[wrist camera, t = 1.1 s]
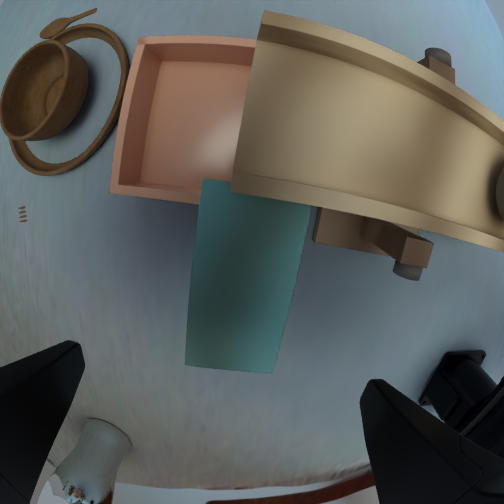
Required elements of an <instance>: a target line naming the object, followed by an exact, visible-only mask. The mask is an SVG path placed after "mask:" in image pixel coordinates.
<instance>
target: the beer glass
mask: <svg viewBox="0 0 504 504" xmlns="http://www.w3.org/2000/svg"><path fill="white" fill-rule="evenodd" d="M130 448H131V442H130V440H129V439H128V437H127V436H126V435H125V434H124V433H123V432H122V431H121V430H119V429H118V428H116V427H115V426H113V425H112V424H110V423H108V422H105V421H103V420H100V419H94V418H91V419H87V420H86V421H85V423H84V426H83V429H82V432H81V435H80V438H79V440H78V442H77V444H76V446H75V447H74V449H73V450H72V451H71V452H70V453H69V455H68V456H67V457H66V458H65V459H64V460H63V461H62V462H61V463H60V464H59V466H58V467H57V468H56V469H55V470H54V472H53V473H52V474H51V476H50V477H49V479H48V481H47V482H46V484H45V486H44V488H43V490H42V492H41V495H40V497H39V500H38V503H37V504H112V503H113V496H114V489H115V482H116V476H117V472H118V469H119V466H120V464H121V462H122V460H123V458H124V457H125V456H126V454H127V453H128V452H129V450H130Z"/></svg>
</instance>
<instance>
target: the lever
mask: <svg viewBox="0 0 504 504" xmlns="http://www.w3.org/2000/svg"><path fill="white" fill-rule="evenodd" d="M503 168H504V121H503V120H502V119H501V118H500V117H498V116H497V115H496V114H495V113H493V112H492V111H491V110H490V109H488V108H487V107H486V106H484V105H483V104H482V103H480V102H479V101H478V100H476V99H475V98H474V97H472V96H471V95H469V94H468V93H466V92H465V91H463V90H462V89H460V88H459V87H457V86H456V85H454V84H453V83H451V82H450V81H448V80H446V79H445V78H443V77H442V76H440V75H438V74H436V73H435V72H433V71H431V70H430V69H428V68H426V67H424V66H422V65H420V64H419V63H417V62H415V61H413V60H411V59H409V58H407V57H405V56H403V55H401V54H399V53H397V52H395V51H392V50H390V49H388V48H386V47H383V46H381V45H379V44H376V43H374V42H372V41H369V40H367V39H364V38H362V37H359V36H356V35H354V34H351V33H348V32H345V31H342V30H339V29H336V28H333V27H330V26H327V25H323V24H320V23H317V22H313V21H309V20H306V19H302V18H298V17H293V16H289V15H285V14H280V13H275V12H270V11H264V13H263V17H262V21H261V25H260V28H259V32H258V36H257V41H256V46H255V51H254V56H253V61H252V66H251V71H250V76H249V81H248V86H247V92H246V97H245V103H244V108H243V114H242V119H241V125H240V131H239V136H238V142H237V148H236V154H235V160H234V166H233V172H232V179H231V182H230V181H223V180H216V179H208V178H204V179H203V181H202V188H201V195H200V203H199V210H198V218H197V226H196V235H195V243H194V253H193V262H192V272H191V283H190V294H189V307H188V320H187V335H186V353H185V365H188V366H196V367H204V368H213V369H223V370H233V371H246V372H261V373H272V372H273V369H274V365H275V362H276V358H277V354H278V350H279V347H280V343H281V339H282V335H283V331H284V327H285V323H286V319H287V315H288V311H289V307H290V303H291V299H292V295H293V291H294V286H295V282H296V278H297V273H298V269H299V264H300V260H301V255H302V251H303V246H304V242H305V237H306V232H307V227H308V222H309V217H310V212H311V207H312V206H318V207H323V208H328V209H333V210H338V211H343V212H348V213H353V214H358V215H362V216H367V217H372V218H376V219H380V220H385V221H389V222H394V223H398V224H402V225H406V226H410V227H414V228H418V229H422V230H426V231H430V232H434V233H438V234H442V235H446V236H449V237H453V238H457V239H460V240H464V241H467V242H471V243H474V244H478V245H481V246H484V247H488V248H491V249H494V250H497V251H501V252H504V220H503V219H502V217H501V215H500V213H499V210H498V207H497V203H496V184H497V179H498V177H499V174H500V172H501V171H502V169H503Z"/></svg>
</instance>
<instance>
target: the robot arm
mask: <svg viewBox="0 0 504 504" xmlns="http://www.w3.org/2000/svg"><path fill="white" fill-rule="evenodd" d="M485 356H486V353H485V352H484V351H467V352H448V353H447V354H446V355H445V356H444V358H443V360H442V362H441V364H440V365H439V367H438V369H437V371H436V373H435V375H434V376H433V378H432V380H431V382H430V383H429V385H428V387H427V388H426V390H425V392H424V393H423V395H422V397H421V398H420V400H419V404H420V406H419V405H418V404H416V403H415V402H414V401H412V400H411V399H409V398H408V397H407V396H405V395H404V394H402V393H401V392H400V391H398V390H397V389H395V388H394V387H393V386H391V385H390V384H388V383H387V382H386V381H384V380H383V379H371V380H370V381H369V382H368V383H367V385H366V387H365V389H364V392H363V394H362V396H361V398H360V409H361V416H362V422H363V430H364V437H365V443H366V447H367V451H368V455H369V460H370V464H371V468H372V472H373V476H374V481H375V485H376V489H377V494H378V499H379V503H380V504H504V376H503V378H502V379H501V381H500V383H499V384H498V385H497V384H496V383H495V382H494V381H493V380H492V379H491V378H490V376H489V375H488V374H487V373H486V372H485V371H484V370H483V369H482V367H481V366H480V365H481V363H482V362H483V360H484V358H485ZM84 369H85V361H84V357H83V353H82V348H81V345H80V344H79V343H78V342H74V341H71V340H67V341H64V342H62V343H60V344H57V345H55V346H52V347H50V348H47V349H45V350H42V351H40V352H37V353H35V354H32V355H30V356H28V357H25V358H23V359H20V360H18V361H15V362H13V363H10V364H8V365H5V366H3V367H0V504H30V500H31V498H32V495H33V492H34V489H35V487H36V484H37V481H38V479H39V476H40V474H41V471H42V469H43V466H44V464H45V461H46V459H47V457H48V454H49V452H50V450H51V447H52V445H53V443H54V440H55V438H56V436H57V434H58V432H59V430H60V427H61V425H62V423H63V421H64V419H65V417H66V415H67V413H68V411H69V408H70V406H71V404H72V401H73V399H74V396H75V393H76V390H77V388H78V385H79V382H80V380H81V377H82V375H83V372H84ZM425 405H432V406H433V407H434V409H435V411H436V412H437V414H438V416H439V417H440V419H441V420H442V421H444V422H445V423H444V422H442V421H441V420H439V419H438V418H436V417H435V416H434V415H432V414H431V413H429V412H428V411H426V410H425V409H424V408H422V407H421V406H425Z"/></svg>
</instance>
